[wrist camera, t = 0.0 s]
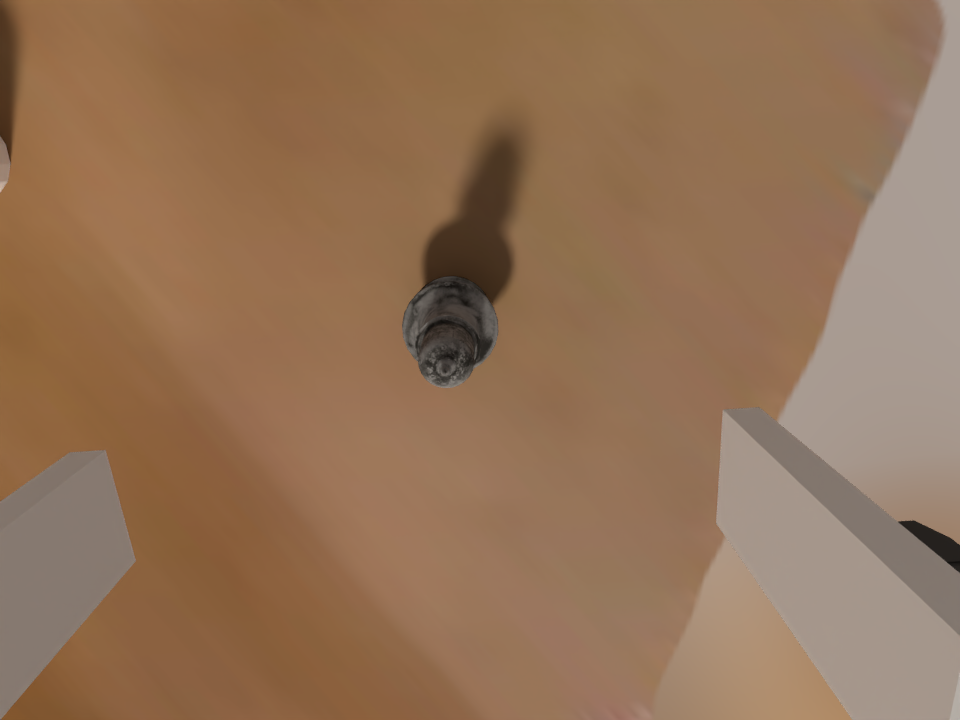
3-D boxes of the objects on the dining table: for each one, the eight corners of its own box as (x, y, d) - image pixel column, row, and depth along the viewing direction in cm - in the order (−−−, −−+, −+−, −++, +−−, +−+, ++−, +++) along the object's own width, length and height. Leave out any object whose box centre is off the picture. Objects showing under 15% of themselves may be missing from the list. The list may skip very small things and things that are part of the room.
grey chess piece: (409, 268, 40) (385, 309, 28) (499, 274, 40) (511, 317, 28) (406, 354, 41) (381, 425, 30) (492, 360, 42) (500, 433, 30)
